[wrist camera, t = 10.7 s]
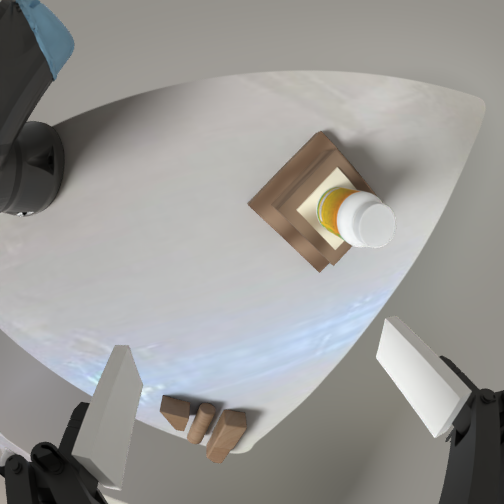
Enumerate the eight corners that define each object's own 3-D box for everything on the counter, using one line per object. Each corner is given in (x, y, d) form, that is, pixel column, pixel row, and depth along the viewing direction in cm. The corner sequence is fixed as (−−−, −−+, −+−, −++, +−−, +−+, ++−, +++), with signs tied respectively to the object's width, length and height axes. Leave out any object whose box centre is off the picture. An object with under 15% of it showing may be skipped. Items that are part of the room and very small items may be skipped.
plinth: (247, 203, 37) (252, 211, 30) (316, 132, 35) (336, 125, 28) (315, 268, 41) (332, 287, 34) (376, 202, 39) (403, 209, 32)
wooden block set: (250, 429, 44) (222, 468, 48) (247, 408, 49) (222, 449, 53) (159, 411, 40) (149, 453, 45) (164, 390, 46) (152, 435, 50)
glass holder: (8, 447, 54) (-3, 469, 39) (31, 467, 58) (22, 489, 44) (2, 447, 54) (-8, 467, 40) (24, 466, 58) (15, 487, 44)
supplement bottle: (311, 229, 31) (346, 254, 22) (318, 183, 30) (357, 190, 21) (352, 234, 32) (395, 258, 23) (359, 190, 31) (407, 201, 21)
